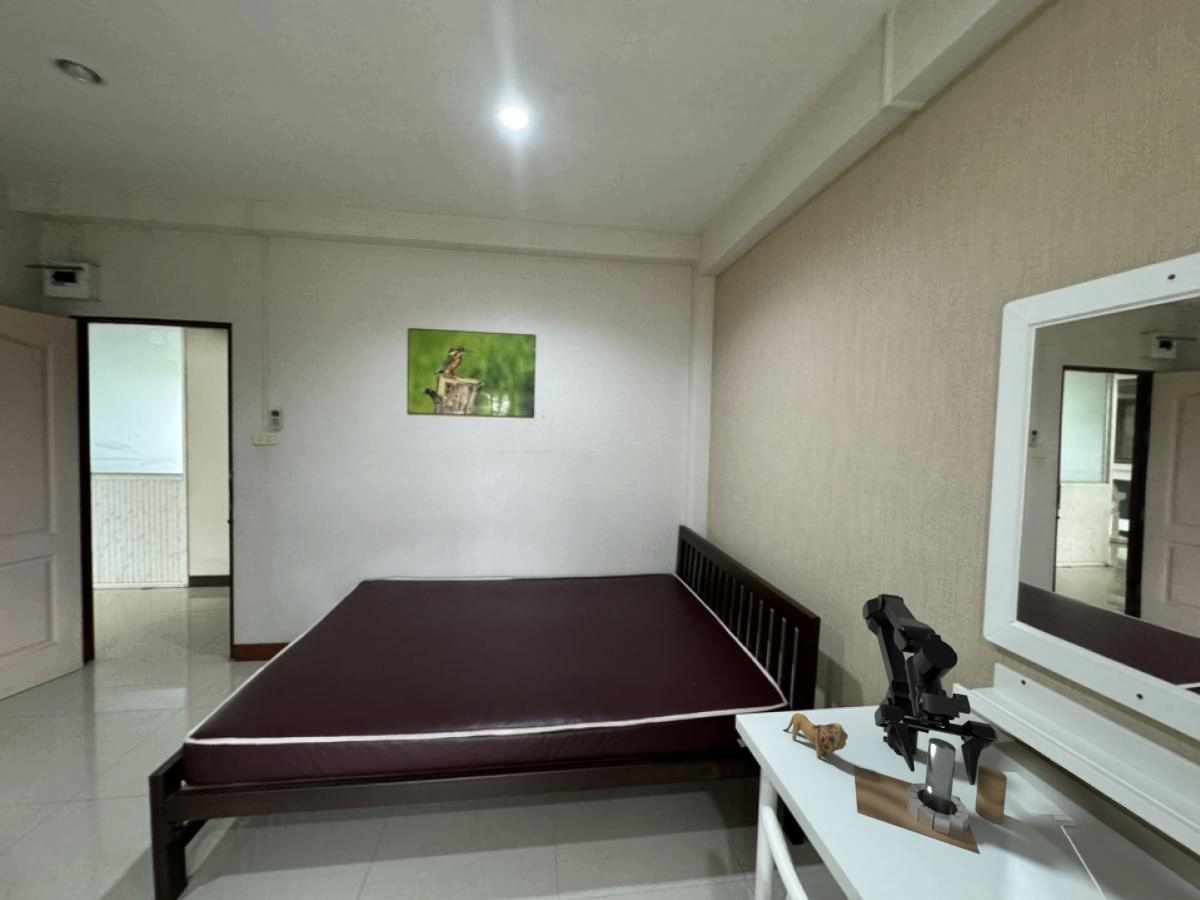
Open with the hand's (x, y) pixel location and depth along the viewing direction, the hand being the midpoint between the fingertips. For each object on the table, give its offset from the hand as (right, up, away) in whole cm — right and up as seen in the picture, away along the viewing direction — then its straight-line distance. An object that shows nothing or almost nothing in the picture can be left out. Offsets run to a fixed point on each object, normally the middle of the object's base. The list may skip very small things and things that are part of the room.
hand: (942, 777), depth 86 cm
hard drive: (+22, -10, +8) cm, 26 cm away
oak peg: (+10, -9, +2) cm, 14 cm away
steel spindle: (0, -8, +2) cm, 8 cm away
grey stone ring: (0, -8, +2) cm, 8 cm away
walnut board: (-3, -9, +4) cm, 10 cm away
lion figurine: (-15, -8, +19) cm, 25 cm away
